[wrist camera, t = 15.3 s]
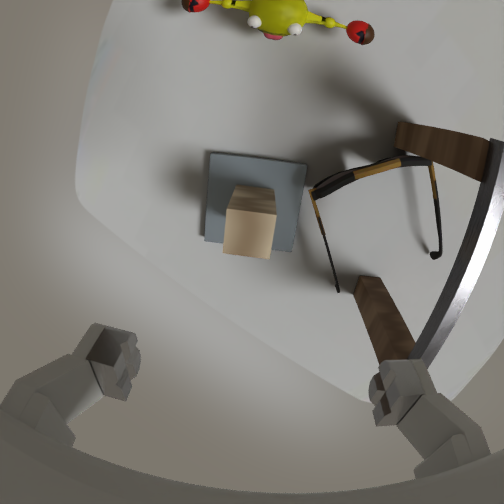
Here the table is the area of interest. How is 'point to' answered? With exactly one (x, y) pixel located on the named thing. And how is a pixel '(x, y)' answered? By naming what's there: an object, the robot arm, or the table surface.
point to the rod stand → (372, 288)
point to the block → (250, 222)
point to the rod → (466, 257)
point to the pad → (256, 175)
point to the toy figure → (284, 17)
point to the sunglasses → (356, 173)
